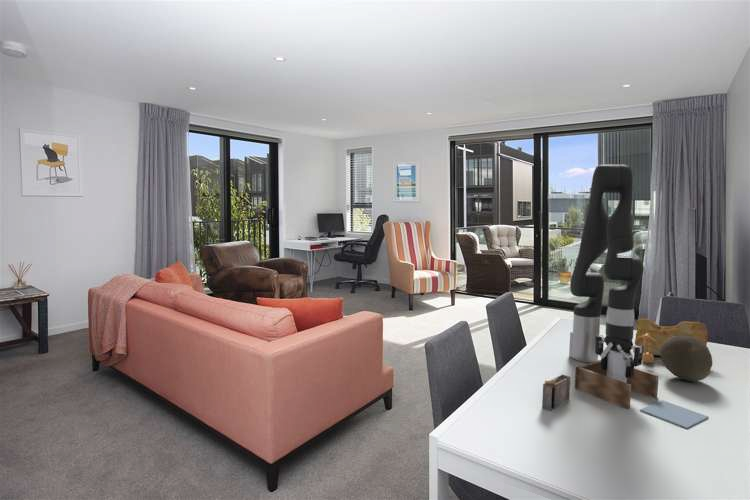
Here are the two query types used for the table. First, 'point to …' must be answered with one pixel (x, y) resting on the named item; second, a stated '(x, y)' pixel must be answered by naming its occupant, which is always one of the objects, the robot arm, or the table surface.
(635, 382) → the open side box
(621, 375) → the skincare box
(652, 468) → the table surface
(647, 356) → the figurine
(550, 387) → the brown upright block
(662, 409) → the mat
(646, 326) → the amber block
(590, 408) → the table surface
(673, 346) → the brown rock
